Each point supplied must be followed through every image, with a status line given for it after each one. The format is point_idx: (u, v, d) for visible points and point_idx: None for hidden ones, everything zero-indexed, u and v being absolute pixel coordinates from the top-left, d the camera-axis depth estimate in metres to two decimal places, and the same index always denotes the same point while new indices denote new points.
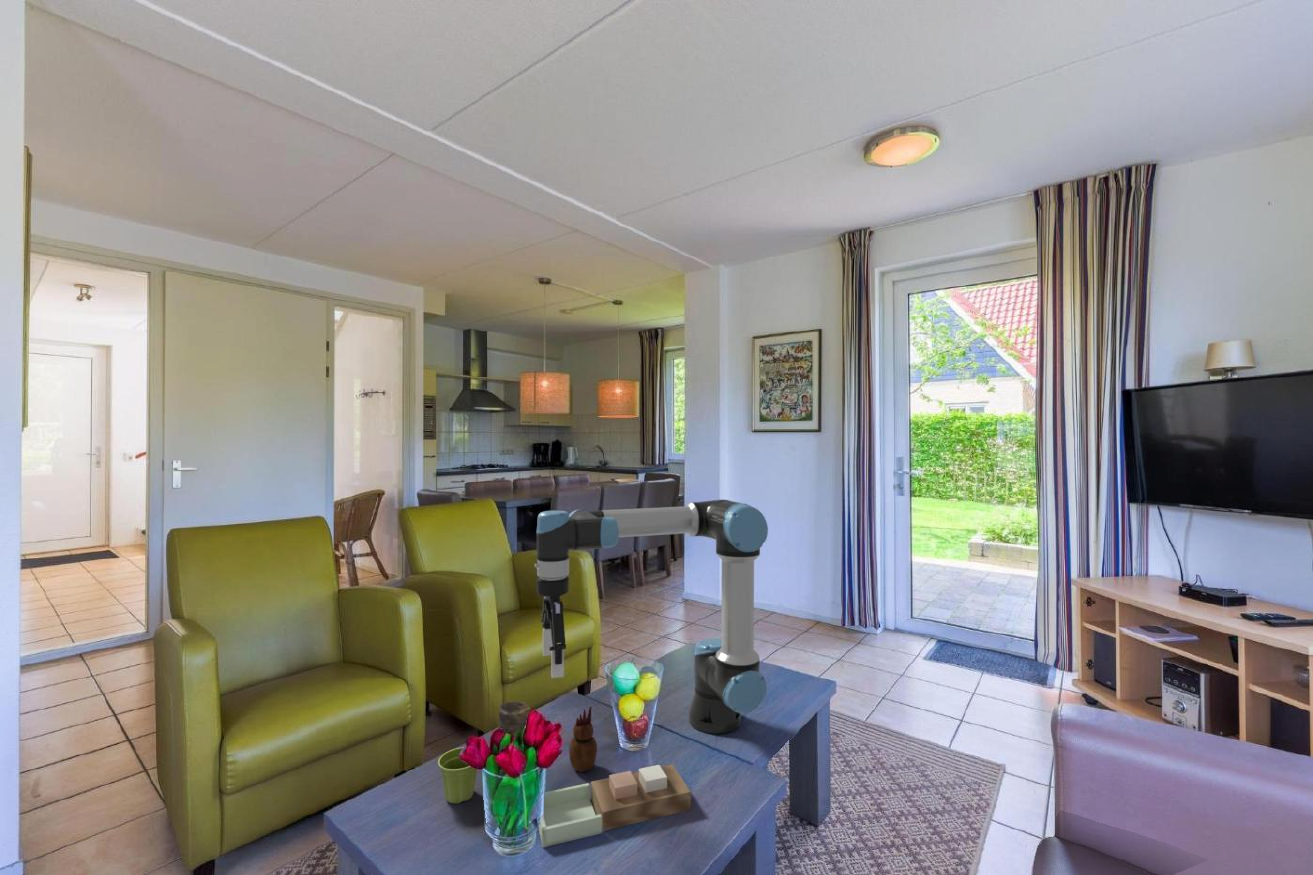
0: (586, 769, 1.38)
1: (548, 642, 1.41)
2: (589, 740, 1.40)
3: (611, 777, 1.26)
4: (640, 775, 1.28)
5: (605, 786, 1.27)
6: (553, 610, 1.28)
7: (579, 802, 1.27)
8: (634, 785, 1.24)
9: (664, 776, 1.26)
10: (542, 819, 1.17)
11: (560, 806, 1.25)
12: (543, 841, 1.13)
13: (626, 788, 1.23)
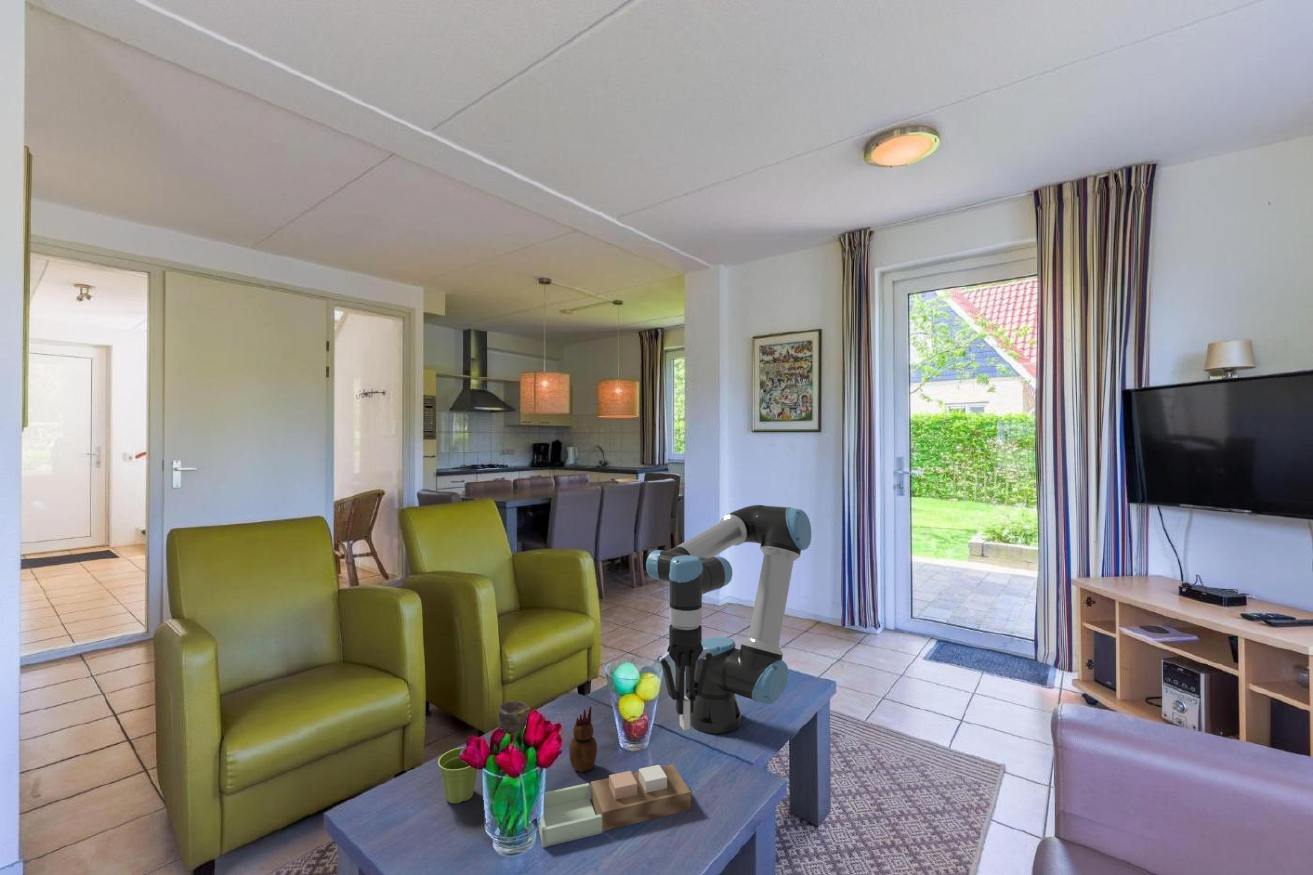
0: (586, 769, 1.38)
1: None
2: (589, 740, 1.40)
3: (611, 777, 1.26)
4: (640, 775, 1.28)
5: (605, 786, 1.27)
6: (660, 662, 1.29)
7: (579, 802, 1.27)
8: (634, 785, 1.24)
9: (664, 776, 1.26)
10: (542, 819, 1.17)
11: (560, 806, 1.25)
12: (543, 841, 1.13)
13: (626, 788, 1.23)
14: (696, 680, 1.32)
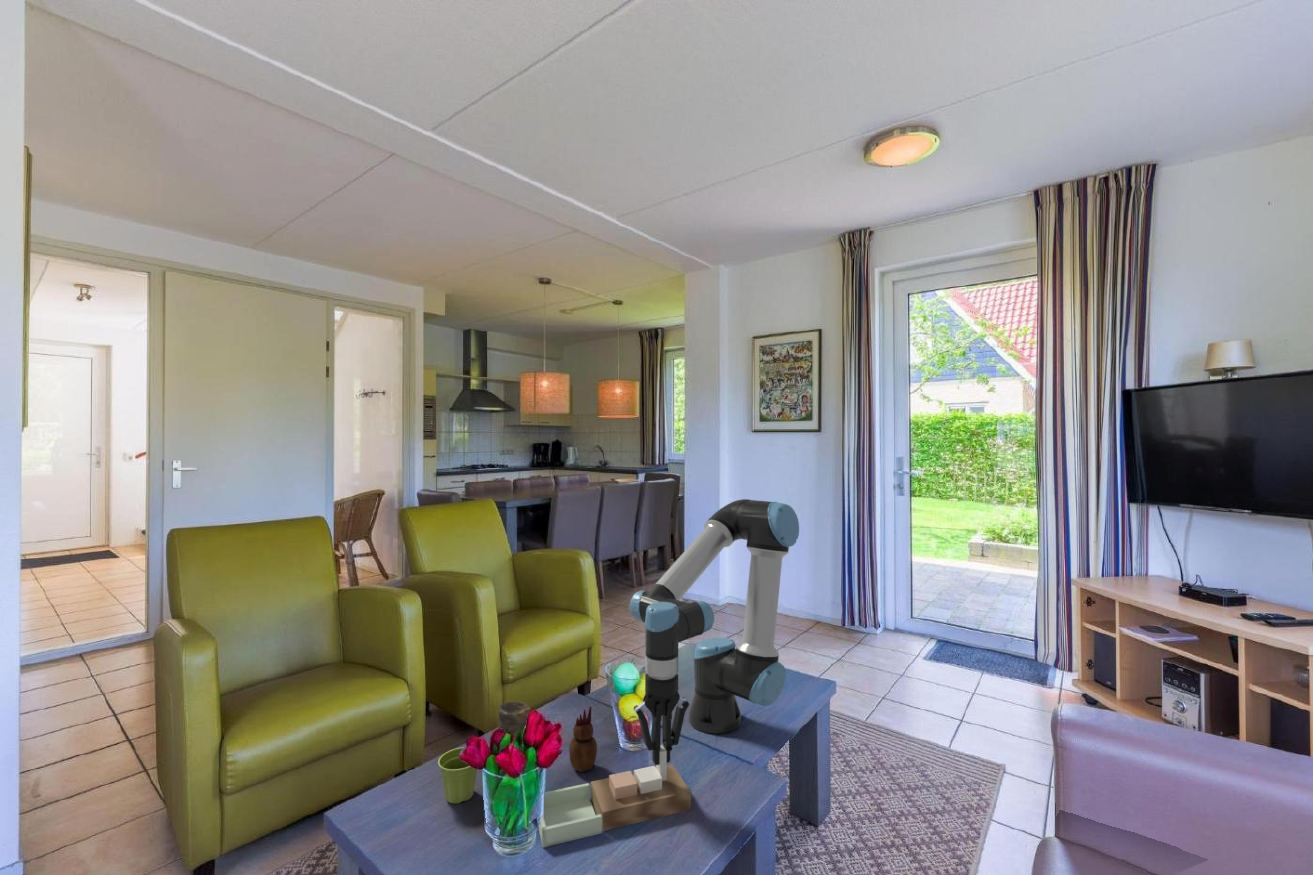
0: (586, 769, 1.38)
1: None
2: (589, 740, 1.40)
3: (611, 777, 1.26)
4: (635, 776, 1.28)
5: (605, 786, 1.27)
6: None
7: (579, 802, 1.27)
8: (634, 785, 1.24)
9: (659, 777, 1.26)
10: (542, 819, 1.17)
11: (560, 806, 1.25)
12: (543, 841, 1.13)
13: (626, 788, 1.23)
14: (673, 729, 1.30)
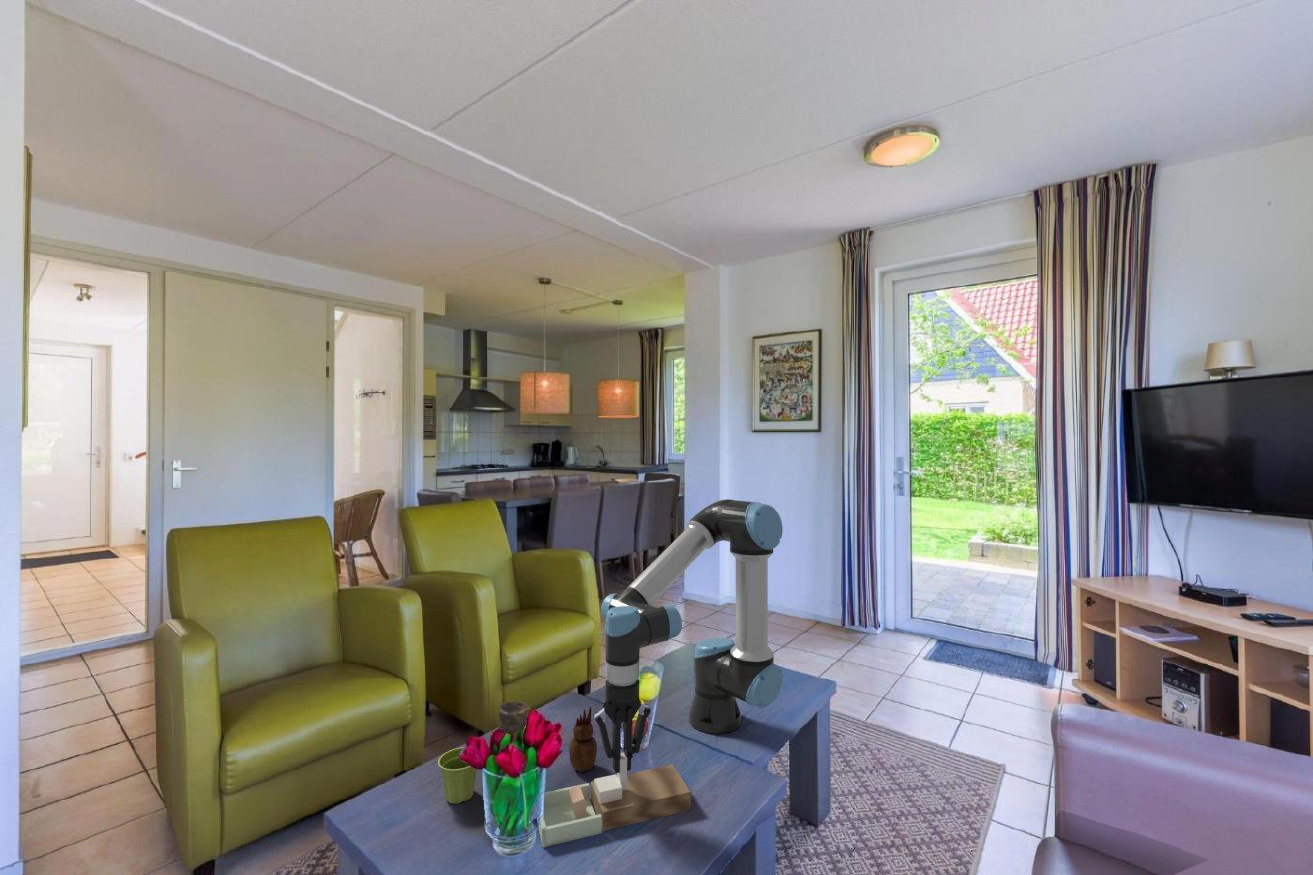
0: (586, 769, 1.38)
1: None
2: (589, 740, 1.40)
3: (573, 812, 1.23)
4: (595, 785, 1.24)
5: None
6: None
7: None
8: (574, 805, 1.19)
9: (619, 786, 1.23)
10: (542, 819, 1.17)
11: (560, 806, 1.25)
12: (543, 841, 1.13)
13: (578, 812, 1.19)
14: (634, 736, 1.26)
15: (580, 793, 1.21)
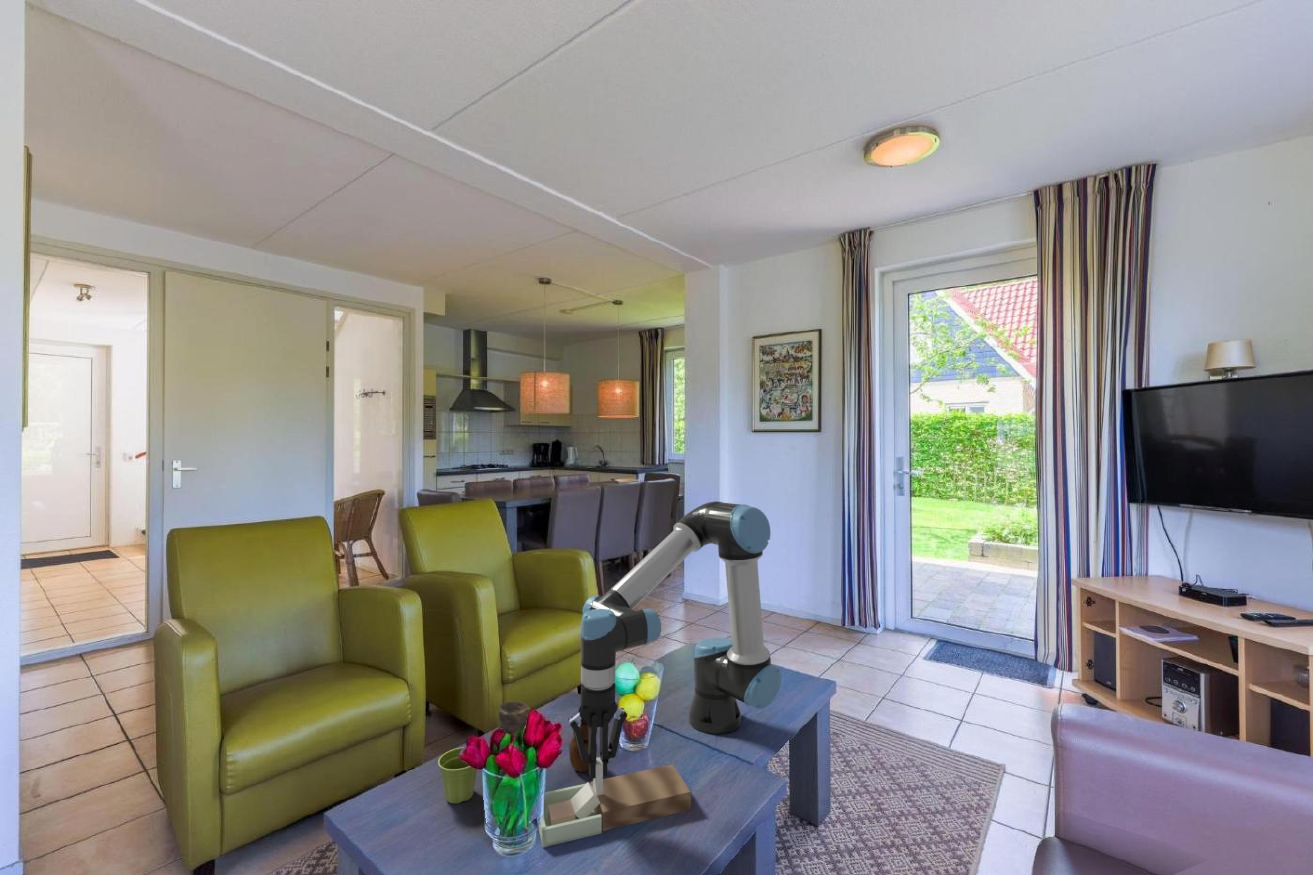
0: (586, 769, 1.38)
1: None
2: None
3: None
4: None
5: (605, 786, 1.27)
6: None
7: None
8: None
9: (591, 796, 1.21)
10: (542, 819, 1.17)
11: None
12: (543, 841, 1.13)
13: None
14: (611, 741, 1.25)
15: (549, 815, 1.19)
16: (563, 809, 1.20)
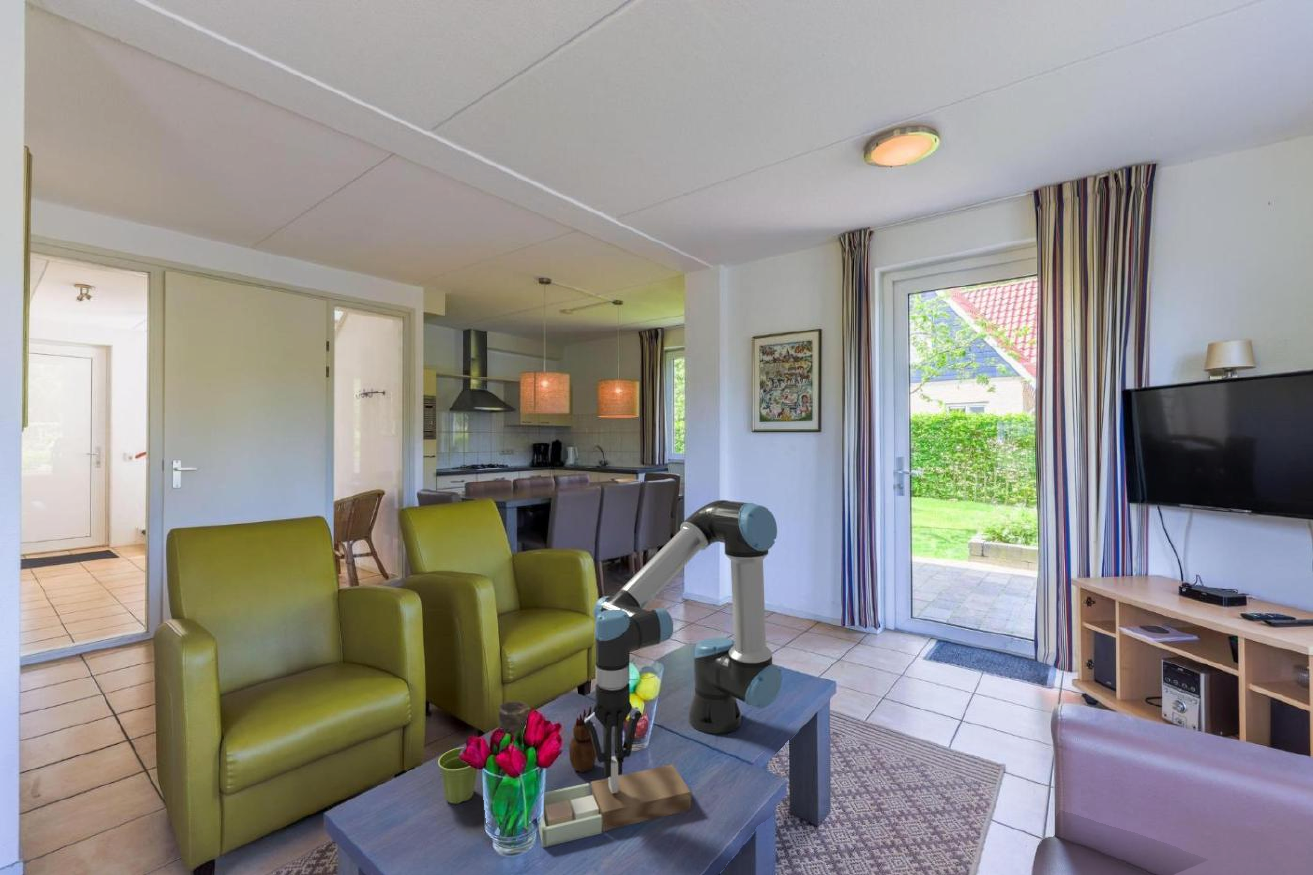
0: (586, 769, 1.38)
1: None
2: (589, 740, 1.40)
3: None
4: (571, 807, 1.22)
5: (605, 786, 1.27)
6: None
7: None
8: None
9: (596, 808, 1.21)
10: (542, 819, 1.17)
11: None
12: (543, 841, 1.13)
13: None
14: (625, 740, 1.26)
15: (546, 815, 1.19)
16: (560, 810, 1.20)
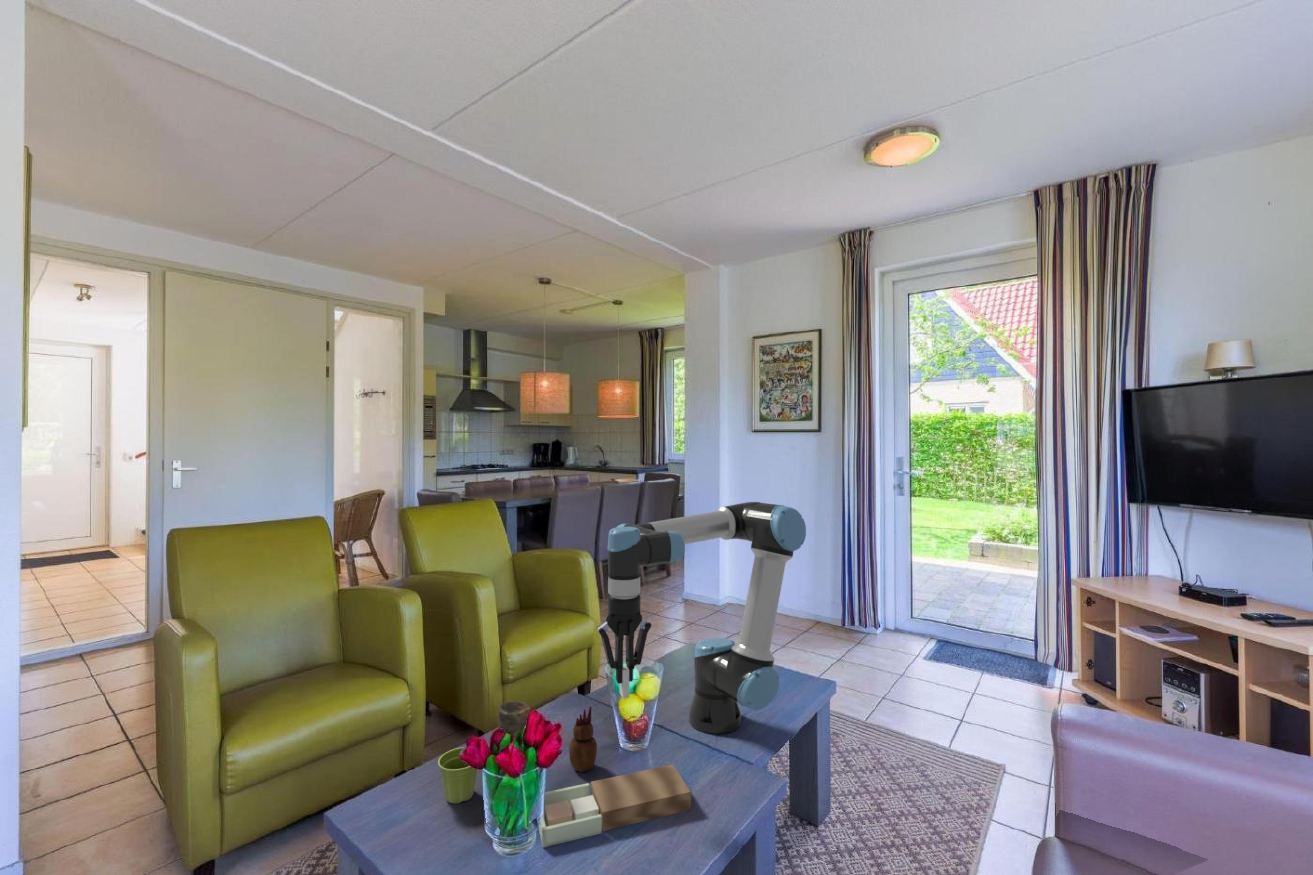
0: (586, 769, 1.38)
1: None
2: (589, 740, 1.40)
3: None
4: (571, 807, 1.22)
5: (605, 786, 1.27)
6: None
7: None
8: None
9: (596, 808, 1.21)
10: (542, 819, 1.17)
11: None
12: (543, 841, 1.13)
13: None
14: (636, 649, 1.33)
15: (546, 815, 1.19)
16: (560, 810, 1.20)
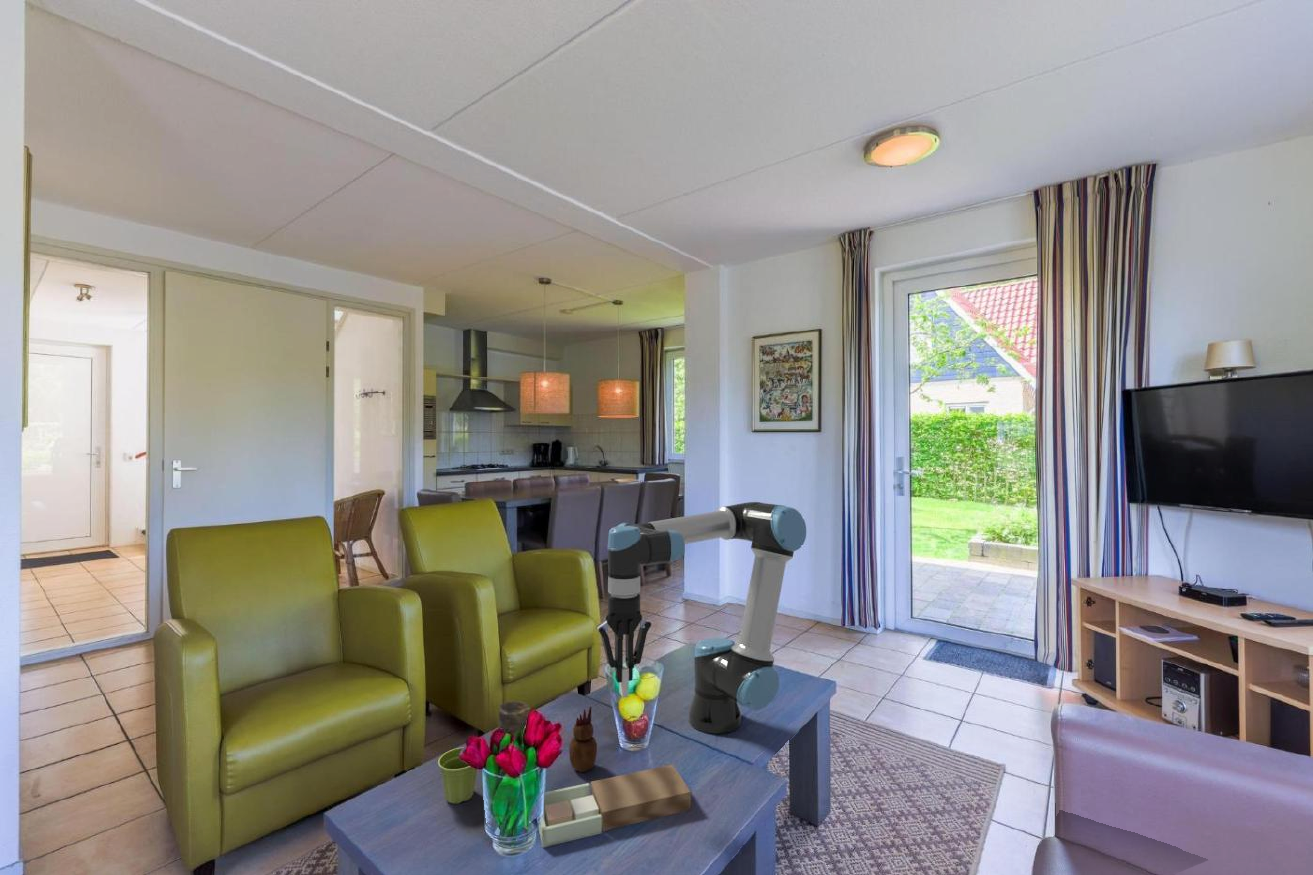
0: (586, 769, 1.38)
1: None
2: (589, 740, 1.40)
3: None
4: (571, 807, 1.22)
5: (605, 786, 1.27)
6: None
7: None
8: None
9: (596, 808, 1.21)
10: (542, 819, 1.17)
11: None
12: (543, 841, 1.13)
13: None
14: (636, 649, 1.33)
15: (546, 815, 1.19)
16: (560, 810, 1.20)
